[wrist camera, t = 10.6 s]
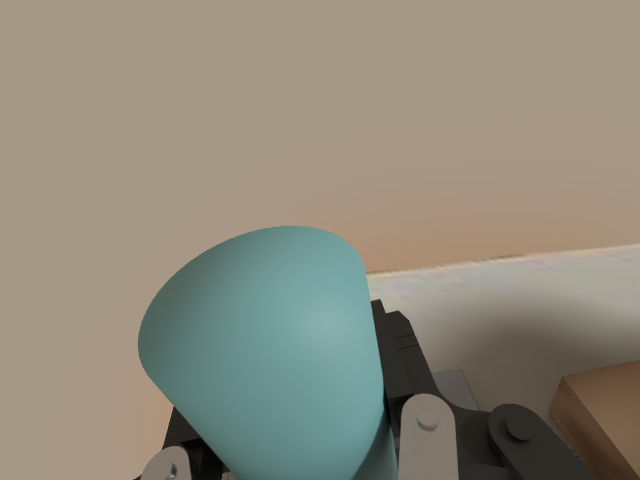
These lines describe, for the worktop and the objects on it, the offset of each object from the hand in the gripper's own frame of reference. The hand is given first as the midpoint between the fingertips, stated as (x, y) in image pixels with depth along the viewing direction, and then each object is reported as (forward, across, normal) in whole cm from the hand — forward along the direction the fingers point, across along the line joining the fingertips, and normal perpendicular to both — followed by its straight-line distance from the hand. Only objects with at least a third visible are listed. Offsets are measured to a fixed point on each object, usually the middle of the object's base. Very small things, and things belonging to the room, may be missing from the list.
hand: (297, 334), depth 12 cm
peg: (-3, 0, +7) cm, 8 cm away
